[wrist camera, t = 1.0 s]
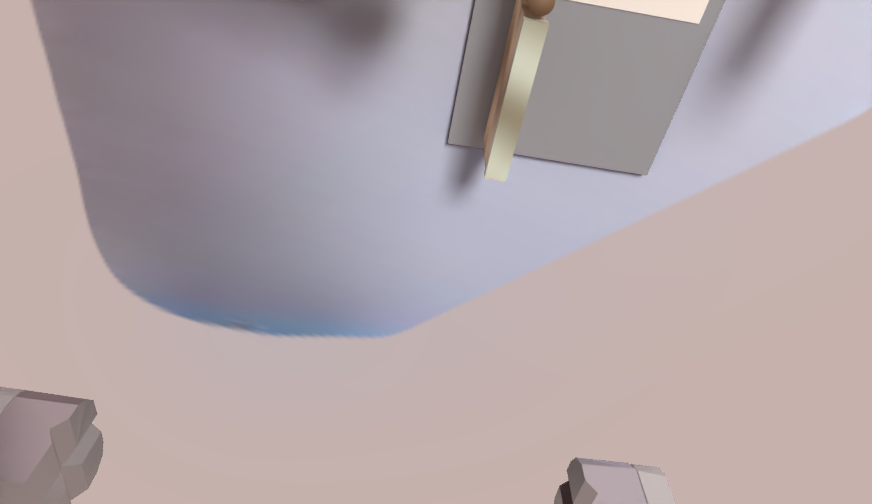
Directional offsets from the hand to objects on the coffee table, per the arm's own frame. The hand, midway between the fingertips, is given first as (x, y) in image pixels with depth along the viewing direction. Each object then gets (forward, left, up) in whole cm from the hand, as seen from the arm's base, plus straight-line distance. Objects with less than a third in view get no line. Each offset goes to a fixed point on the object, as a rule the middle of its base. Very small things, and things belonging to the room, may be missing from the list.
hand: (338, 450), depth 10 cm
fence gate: (+4, +6, -32) cm, 33 cm away
